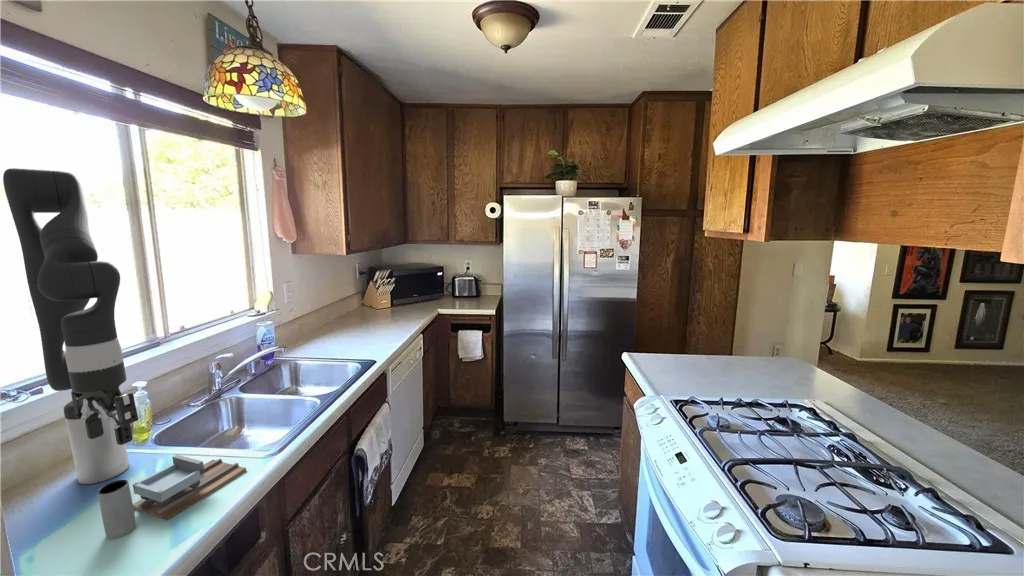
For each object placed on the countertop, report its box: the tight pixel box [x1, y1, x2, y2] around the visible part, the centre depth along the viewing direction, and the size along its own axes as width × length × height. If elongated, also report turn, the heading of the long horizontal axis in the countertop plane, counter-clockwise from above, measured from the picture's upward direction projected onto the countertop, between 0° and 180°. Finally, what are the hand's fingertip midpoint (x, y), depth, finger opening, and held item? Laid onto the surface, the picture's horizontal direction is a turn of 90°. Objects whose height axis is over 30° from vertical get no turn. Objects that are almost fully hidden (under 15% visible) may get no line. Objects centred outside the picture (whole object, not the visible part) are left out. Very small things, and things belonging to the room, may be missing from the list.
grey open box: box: [132, 454, 205, 506], centre depth 90 cm, size 9×9×6 cm
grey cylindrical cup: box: [96, 479, 137, 540], centre depth 81 cm, size 4×4×10 cm
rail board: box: [133, 458, 247, 521], centre depth 95 cm, size 12×18×2 cm, turn 162°
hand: (110, 439), depth 80 cm, fingers open, 8 cm apart
